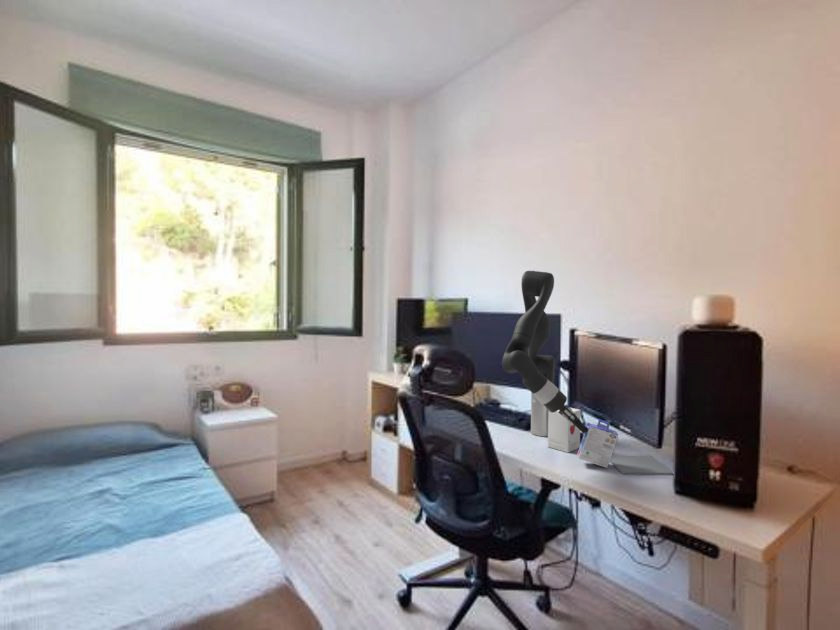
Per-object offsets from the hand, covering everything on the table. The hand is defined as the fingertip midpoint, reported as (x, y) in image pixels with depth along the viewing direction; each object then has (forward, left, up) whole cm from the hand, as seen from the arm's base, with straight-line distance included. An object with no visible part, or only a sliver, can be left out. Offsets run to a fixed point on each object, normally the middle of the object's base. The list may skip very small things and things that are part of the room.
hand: (585, 431), depth 156 cm
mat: (-1, +18, -12) cm, 22 cm away
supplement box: (-19, -2, -12) cm, 22 cm away
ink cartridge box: (0, +2, -11) cm, 11 cm away
